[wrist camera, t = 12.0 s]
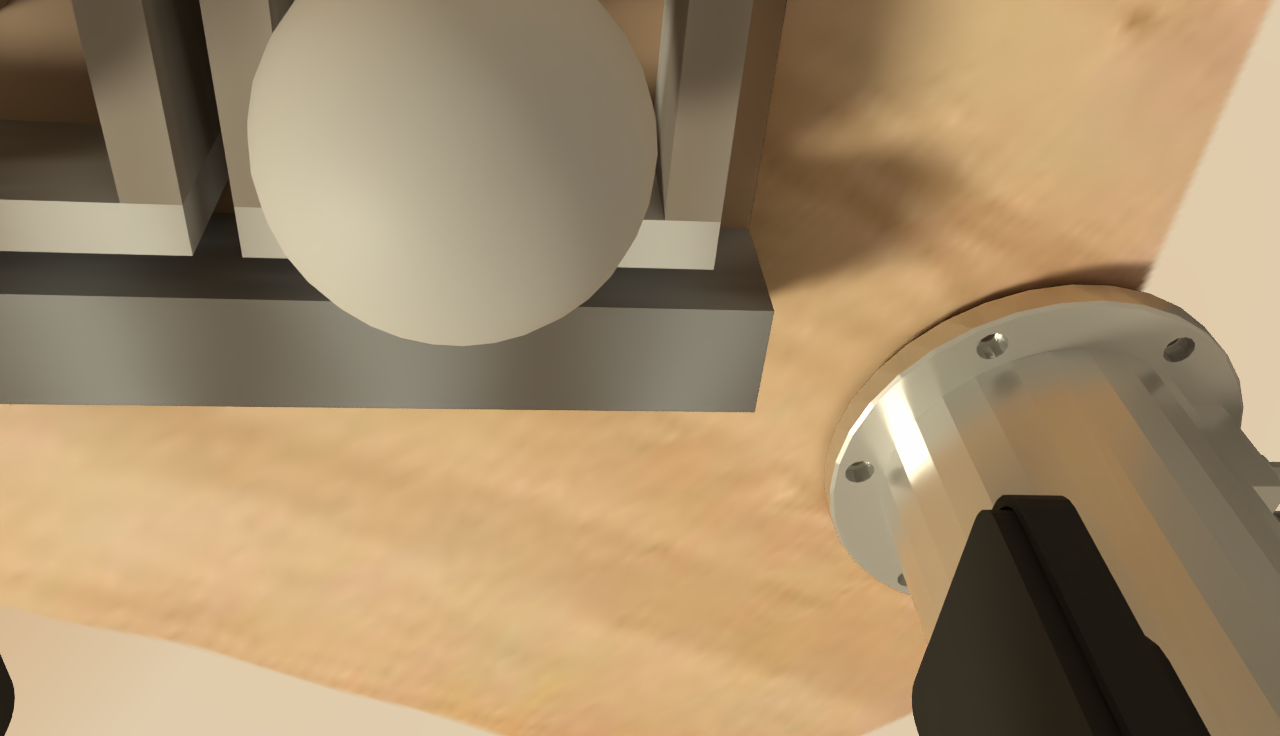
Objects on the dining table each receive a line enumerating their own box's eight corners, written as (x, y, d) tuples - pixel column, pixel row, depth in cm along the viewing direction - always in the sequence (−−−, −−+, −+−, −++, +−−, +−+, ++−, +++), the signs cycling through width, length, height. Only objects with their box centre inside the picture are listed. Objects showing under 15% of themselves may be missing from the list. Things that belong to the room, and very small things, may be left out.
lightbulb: (676, -62, 23) (772, 193, 14) (521, 158, 25) (522, 483, 17) (417, -253, 20) (339, -86, 11) (276, 15, 23) (129, 311, 14)
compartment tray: (832, -339, 20) (1015, -257, 13) (728, 308, 30) (797, 583, 22) (-584, -471, 18) (-1436, -467, 10) (-217, 287, 27) (-516, 593, 19)
